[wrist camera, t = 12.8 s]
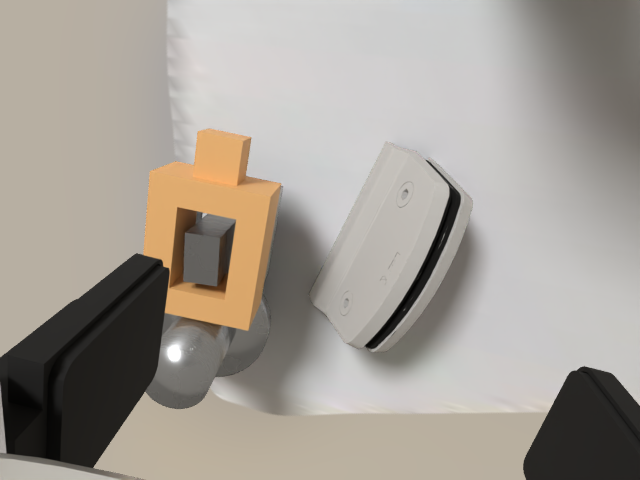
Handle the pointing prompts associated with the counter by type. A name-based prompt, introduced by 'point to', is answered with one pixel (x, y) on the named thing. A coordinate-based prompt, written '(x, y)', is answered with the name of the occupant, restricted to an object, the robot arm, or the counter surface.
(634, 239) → the counter surface
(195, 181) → the bracket
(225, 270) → the grey rectangular bar
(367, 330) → the white curved casing
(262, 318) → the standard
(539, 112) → the counter surface
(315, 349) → the counter surface
